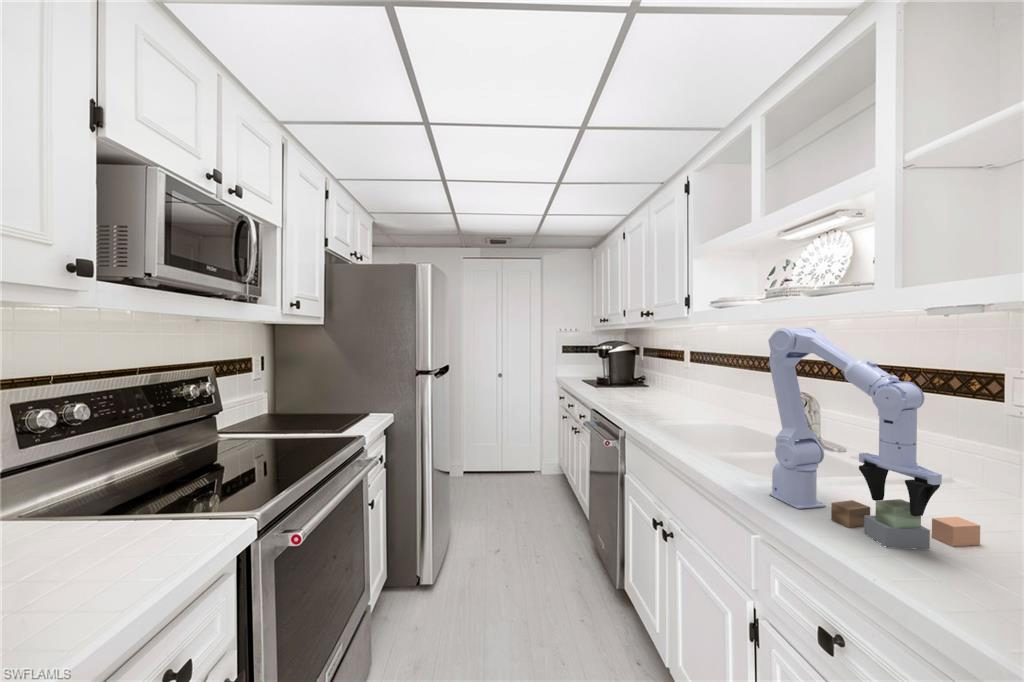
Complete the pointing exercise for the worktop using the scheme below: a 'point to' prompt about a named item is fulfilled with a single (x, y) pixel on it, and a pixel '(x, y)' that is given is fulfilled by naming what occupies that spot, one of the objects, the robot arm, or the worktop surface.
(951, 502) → the worktop surface
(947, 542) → the terracotta brick
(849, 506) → the walnut brick
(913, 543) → the slate brick
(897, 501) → the sage brick
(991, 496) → the worktop surface
